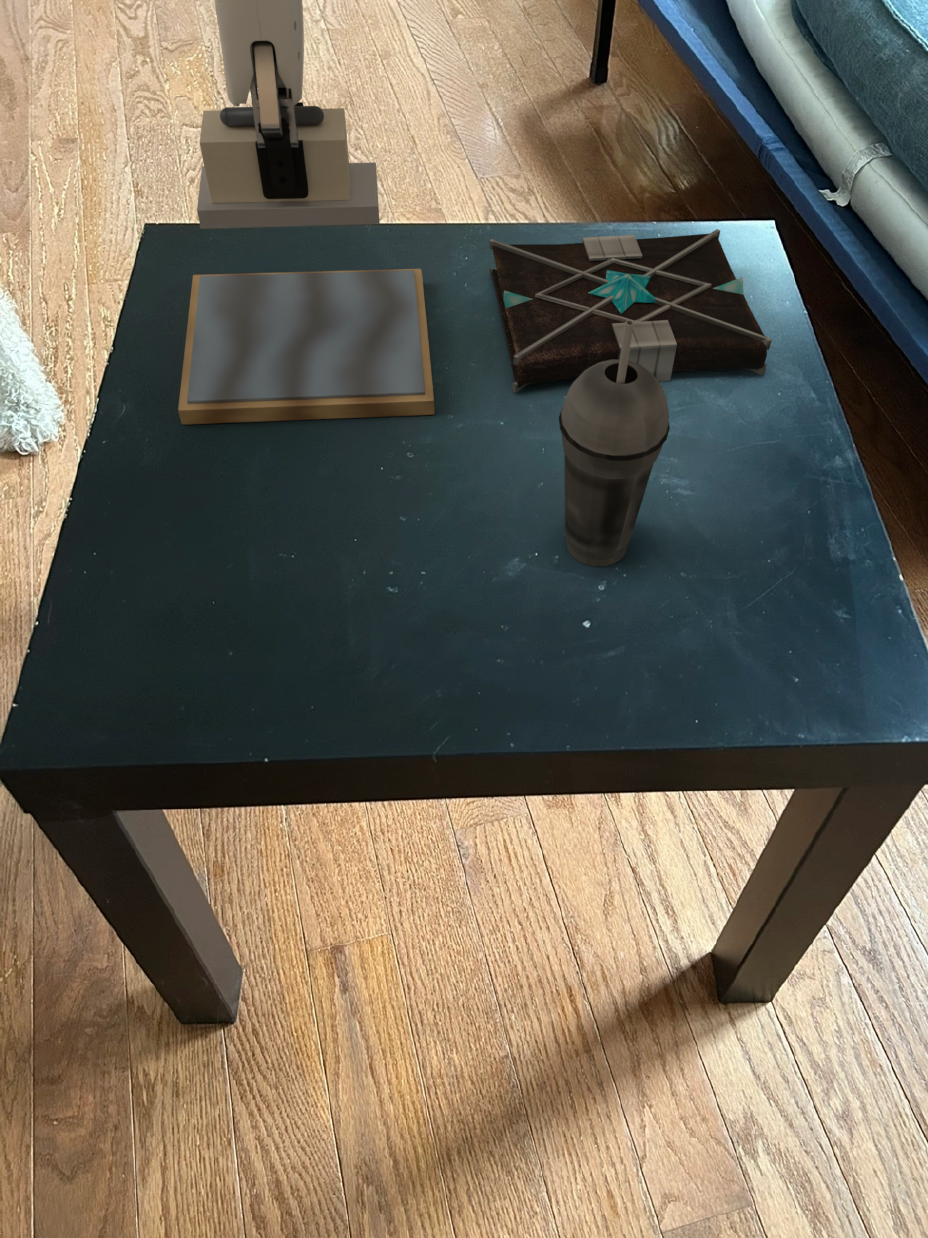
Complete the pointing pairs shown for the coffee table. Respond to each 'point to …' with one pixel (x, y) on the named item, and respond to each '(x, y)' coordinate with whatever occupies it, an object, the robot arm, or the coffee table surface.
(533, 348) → the book
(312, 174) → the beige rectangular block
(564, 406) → the beverage cup
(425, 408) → the board
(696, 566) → the coffee table surface
